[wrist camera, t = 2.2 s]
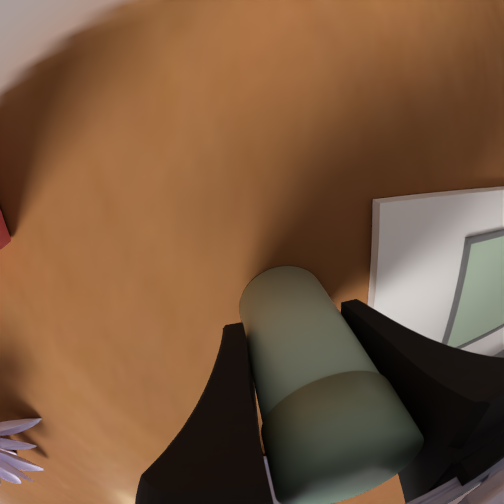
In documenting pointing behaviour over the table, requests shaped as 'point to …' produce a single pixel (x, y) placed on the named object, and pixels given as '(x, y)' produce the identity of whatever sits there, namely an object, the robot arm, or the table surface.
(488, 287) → the picture board
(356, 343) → the green rounded cylinder
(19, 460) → the water lily
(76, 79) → the table surface
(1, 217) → the ink cartridge box
